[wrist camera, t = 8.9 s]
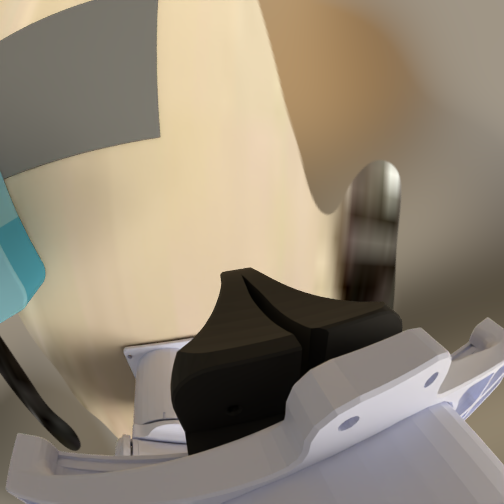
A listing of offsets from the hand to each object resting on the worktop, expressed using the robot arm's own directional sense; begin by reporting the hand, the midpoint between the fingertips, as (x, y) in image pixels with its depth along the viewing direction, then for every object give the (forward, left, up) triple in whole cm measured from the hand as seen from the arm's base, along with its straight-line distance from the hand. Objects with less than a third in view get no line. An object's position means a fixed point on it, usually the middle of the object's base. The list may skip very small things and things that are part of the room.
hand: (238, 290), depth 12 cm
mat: (+14, +14, -10) cm, 23 cm away
